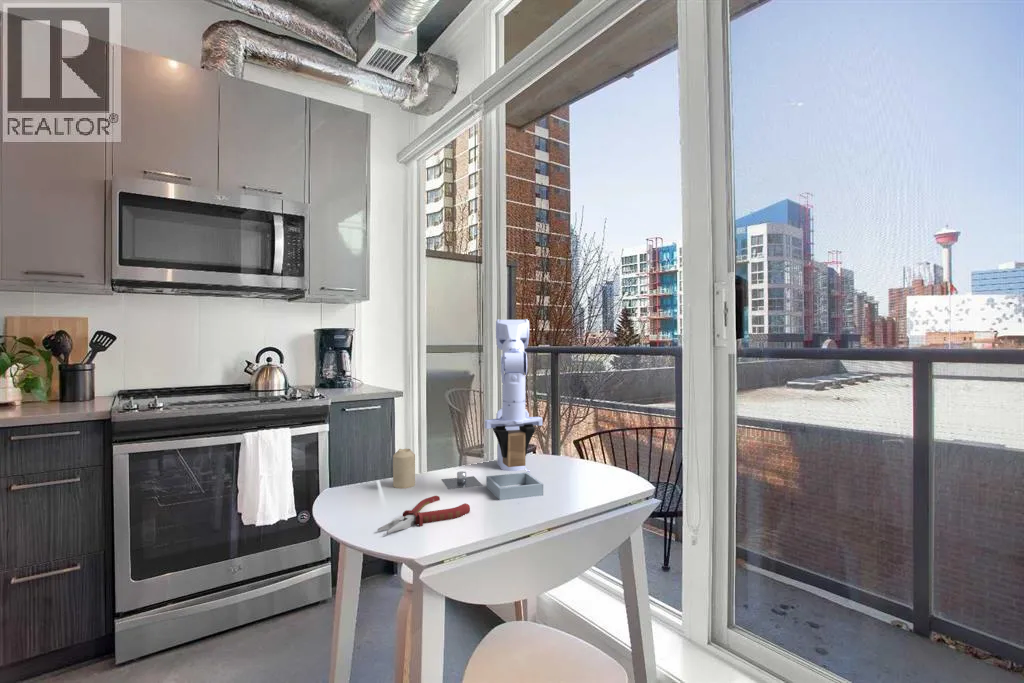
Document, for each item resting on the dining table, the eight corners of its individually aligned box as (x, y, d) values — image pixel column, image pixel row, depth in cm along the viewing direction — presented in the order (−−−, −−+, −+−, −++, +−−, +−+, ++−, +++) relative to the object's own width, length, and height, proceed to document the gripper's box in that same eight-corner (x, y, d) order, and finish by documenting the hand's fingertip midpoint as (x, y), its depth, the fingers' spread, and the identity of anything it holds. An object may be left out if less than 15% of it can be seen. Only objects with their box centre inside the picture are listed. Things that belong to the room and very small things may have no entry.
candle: (402, 492, 123) (402, 452, 123) (388, 488, 127) (388, 449, 127) (419, 487, 128) (419, 448, 128) (405, 483, 131) (405, 446, 131)
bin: (486, 489, 126) (486, 476, 126) (526, 485, 129) (526, 472, 129) (499, 503, 115) (499, 488, 115) (543, 498, 119) (543, 484, 119)
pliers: (364, 530, 100) (364, 517, 100) (435, 504, 116) (435, 493, 116) (401, 544, 94) (401, 531, 93) (472, 514, 110) (472, 503, 110)
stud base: (441, 482, 132) (441, 469, 132) (473, 479, 135) (473, 467, 135) (448, 492, 124) (448, 478, 124) (482, 488, 127) (482, 475, 127)
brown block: (502, 462, 124) (502, 430, 123) (519, 461, 125) (519, 429, 125) (508, 467, 119) (508, 434, 119) (525, 465, 121) (525, 432, 121)
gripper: (490, 404, 116) (490, 462, 116) (547, 401, 121) (547, 457, 121) (482, 400, 123) (482, 455, 123) (536, 398, 127) (536, 451, 127)
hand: (513, 456), depth 122 cm, fingers closed on brown block, 4 cm apart
